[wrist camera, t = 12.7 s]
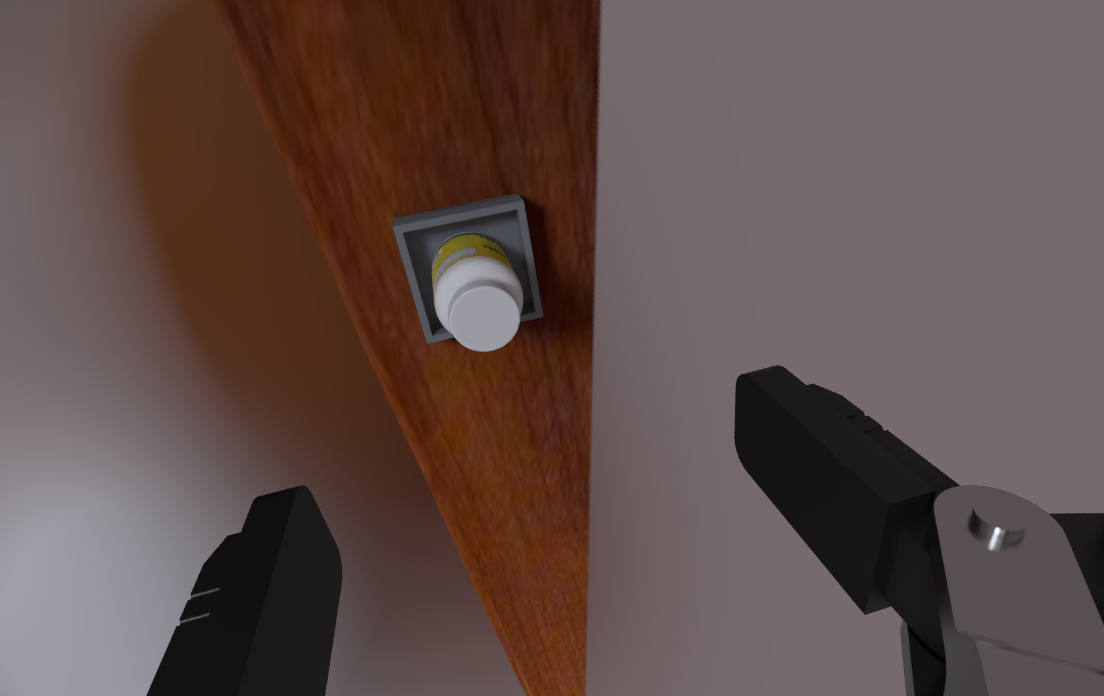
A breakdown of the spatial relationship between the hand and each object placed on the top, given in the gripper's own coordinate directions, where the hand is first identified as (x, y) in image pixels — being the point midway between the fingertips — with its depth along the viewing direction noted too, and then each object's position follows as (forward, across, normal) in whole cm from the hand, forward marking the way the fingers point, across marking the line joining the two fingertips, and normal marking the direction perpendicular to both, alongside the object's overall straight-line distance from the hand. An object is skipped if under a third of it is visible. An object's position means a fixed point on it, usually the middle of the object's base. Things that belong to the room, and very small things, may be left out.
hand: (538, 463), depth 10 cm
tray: (+30, 0, +6) cm, 31 cm away
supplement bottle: (+30, 0, +6) cm, 30 cm away
